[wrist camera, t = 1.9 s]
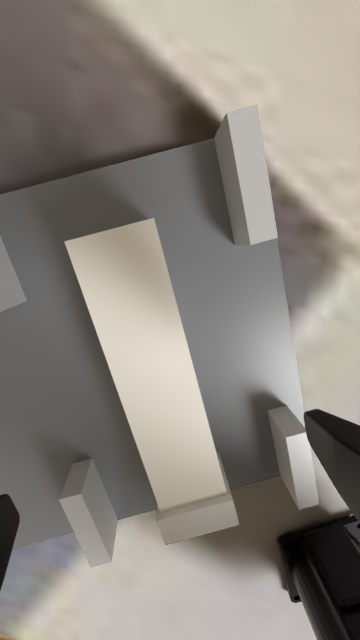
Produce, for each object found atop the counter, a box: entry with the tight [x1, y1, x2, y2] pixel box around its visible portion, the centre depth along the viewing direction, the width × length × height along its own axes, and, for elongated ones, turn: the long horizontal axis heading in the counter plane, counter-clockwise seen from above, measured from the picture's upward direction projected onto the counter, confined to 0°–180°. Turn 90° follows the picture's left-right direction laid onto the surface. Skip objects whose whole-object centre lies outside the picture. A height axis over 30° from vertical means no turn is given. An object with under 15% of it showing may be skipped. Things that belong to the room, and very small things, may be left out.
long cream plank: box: [65, 218, 239, 545], centre depth 14 cm, size 16×4×3 cm, turn 14°
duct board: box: [0, 105, 319, 567], centre depth 14 cm, size 20×27×4 cm
